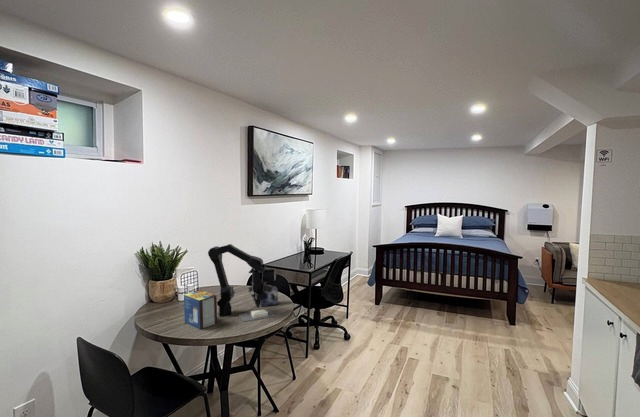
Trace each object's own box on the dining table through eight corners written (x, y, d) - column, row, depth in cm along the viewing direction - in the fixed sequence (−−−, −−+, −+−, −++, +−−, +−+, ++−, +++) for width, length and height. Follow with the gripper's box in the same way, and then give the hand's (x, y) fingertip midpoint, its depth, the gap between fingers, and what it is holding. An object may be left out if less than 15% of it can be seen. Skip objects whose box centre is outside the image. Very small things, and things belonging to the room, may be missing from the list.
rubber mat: (243, 322, 183) (243, 321, 183) (238, 315, 193) (238, 314, 193) (275, 316, 191) (275, 315, 191) (268, 310, 201) (268, 309, 201)
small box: (261, 307, 207) (261, 290, 206) (259, 304, 213) (258, 287, 212) (278, 305, 211) (278, 288, 210) (275, 302, 217) (275, 285, 216)
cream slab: (250, 314, 192) (253, 318, 187) (250, 311, 192) (253, 314, 187) (264, 312, 196) (267, 315, 191) (264, 309, 196) (267, 312, 190)
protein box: (201, 317, 190) (201, 290, 190) (217, 323, 180) (217, 295, 180) (184, 322, 182) (183, 294, 181) (199, 330, 172) (199, 299, 172)
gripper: (276, 282, 188) (276, 310, 189) (266, 275, 205) (266, 300, 206) (256, 285, 183) (257, 313, 184) (248, 277, 200) (248, 303, 201)
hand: (257, 307), depth 194 cm, fingers closed
